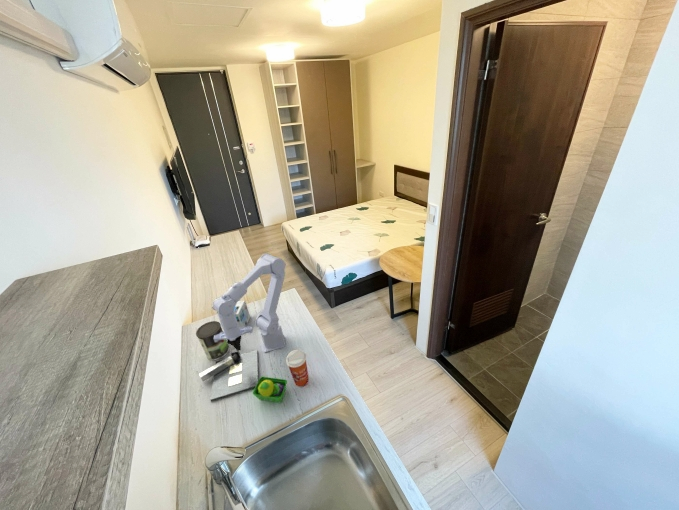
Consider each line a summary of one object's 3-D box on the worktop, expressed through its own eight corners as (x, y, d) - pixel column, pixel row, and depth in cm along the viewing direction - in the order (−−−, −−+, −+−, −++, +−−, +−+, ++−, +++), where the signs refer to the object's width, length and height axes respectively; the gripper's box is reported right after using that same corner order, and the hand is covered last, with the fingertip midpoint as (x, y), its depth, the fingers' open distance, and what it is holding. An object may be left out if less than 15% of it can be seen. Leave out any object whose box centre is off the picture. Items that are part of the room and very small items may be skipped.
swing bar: (239, 360, 120) (237, 355, 118) (202, 381, 111) (200, 377, 110) (237, 357, 121) (235, 352, 119) (201, 378, 113) (199, 374, 111)
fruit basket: (290, 388, 107) (284, 368, 101) (281, 410, 99) (275, 390, 94) (263, 384, 109) (256, 365, 104) (253, 405, 102) (245, 386, 96)
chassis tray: (257, 351, 125) (255, 344, 122) (258, 387, 109) (255, 379, 106) (216, 363, 121) (213, 355, 119) (211, 401, 105) (207, 393, 103)
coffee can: (233, 343, 130) (225, 321, 124) (221, 361, 122) (211, 338, 115) (215, 342, 133) (205, 320, 126) (201, 359, 124) (190, 336, 117)
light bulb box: (244, 330, 138) (238, 313, 133) (231, 331, 138) (225, 314, 133) (250, 315, 147) (245, 300, 142) (238, 316, 148) (232, 300, 142)
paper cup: (295, 392, 105) (289, 368, 98) (289, 377, 111) (282, 353, 104) (314, 383, 108) (309, 358, 101) (307, 369, 114) (301, 345, 107)
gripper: (208, 335, 102) (219, 361, 108) (248, 326, 105) (256, 351, 111) (211, 323, 108) (221, 348, 114) (248, 314, 111) (256, 339, 117)
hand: (238, 348), depth 113 cm, fingers closed
